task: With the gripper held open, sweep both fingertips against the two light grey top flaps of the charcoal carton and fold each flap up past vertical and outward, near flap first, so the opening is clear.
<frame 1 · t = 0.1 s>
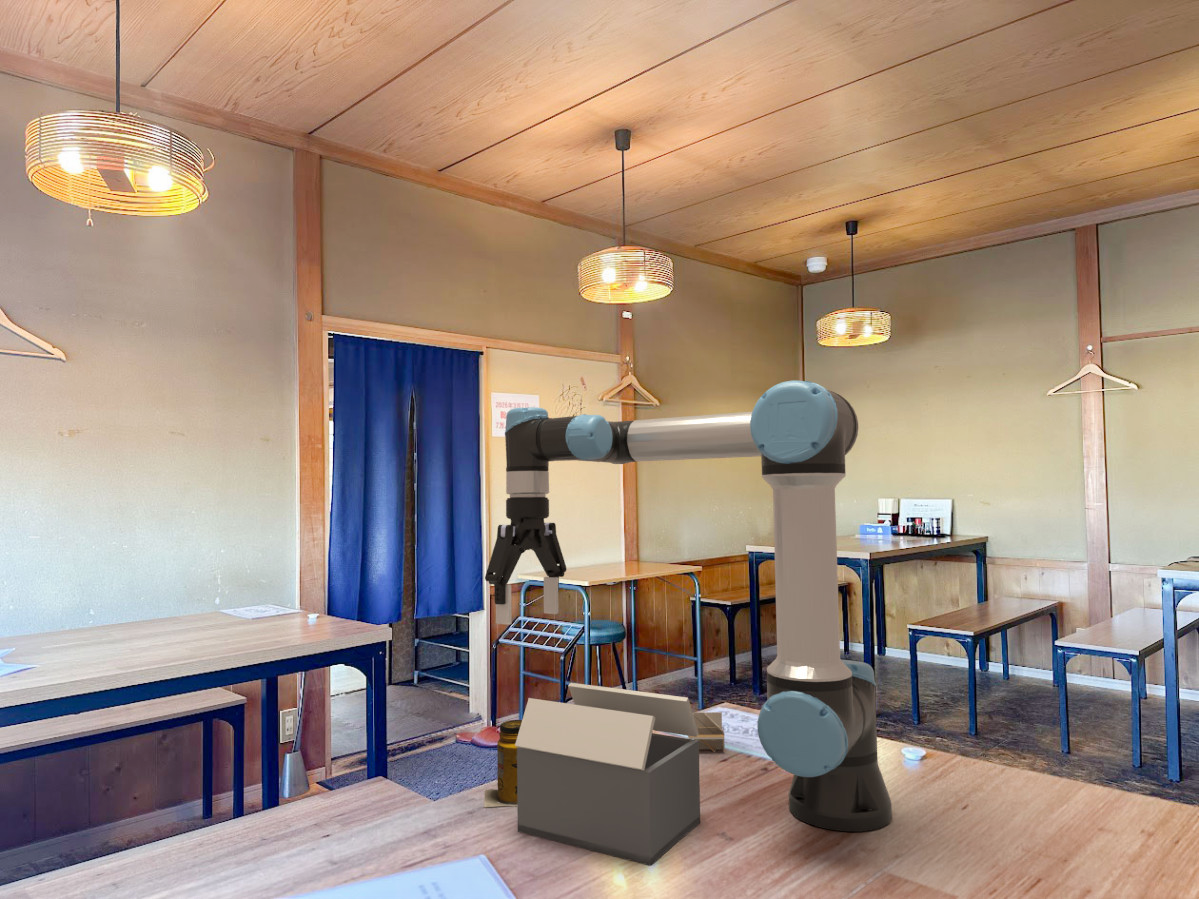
hand: (528, 618, 136), 28 cm above the table, fingers open, 13 cm apart
far flap: (631, 708, 123), point 16 cm above the table, hinge at 60.0°
condiment: (510, 799, 128), on the table
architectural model: (709, 754, 151), on the table
near flap: (582, 732, 111), point 16 cm above the table, hinge at 60.0°
carton: (609, 826, 116), on the table
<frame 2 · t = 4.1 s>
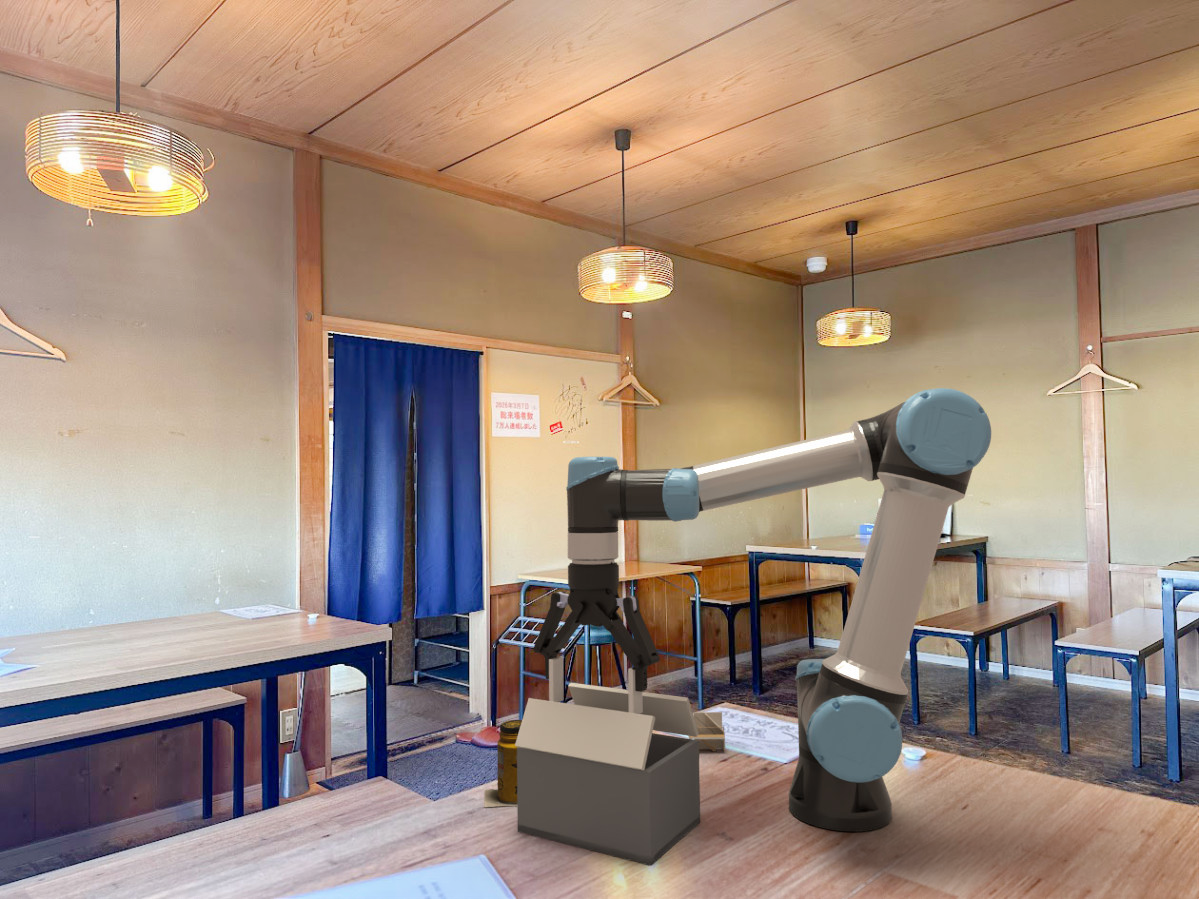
hand: (594, 708, 114), 18 cm above the table
near flap: (582, 732, 111), point 16 cm above the table, hinge at 60.0°, touching gripper
everything else where it was.
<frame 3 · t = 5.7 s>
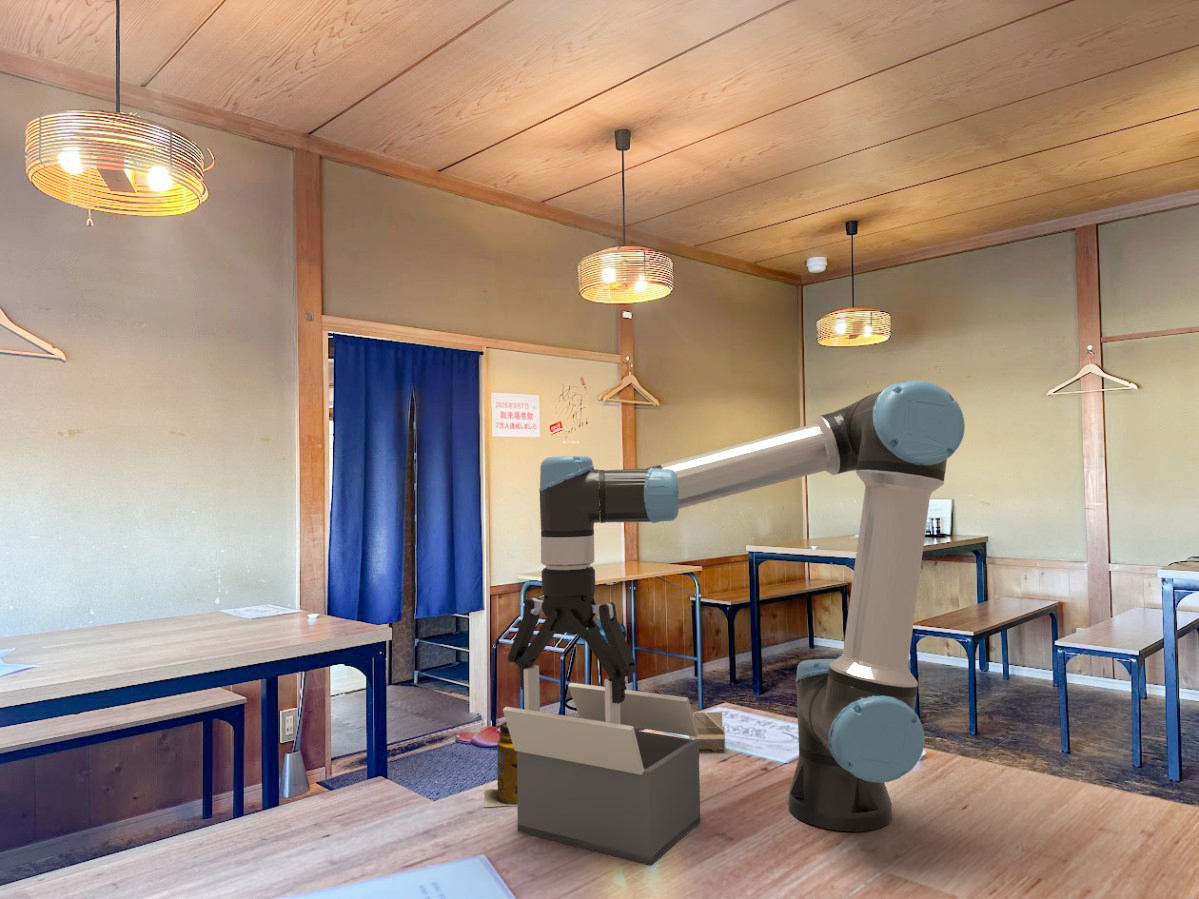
hand: (571, 720, 109), 18 cm above the table
near flap: (570, 739, 108), point 15 cm above the table, hinge at 113.1°, touching gripper
everything else where it was.
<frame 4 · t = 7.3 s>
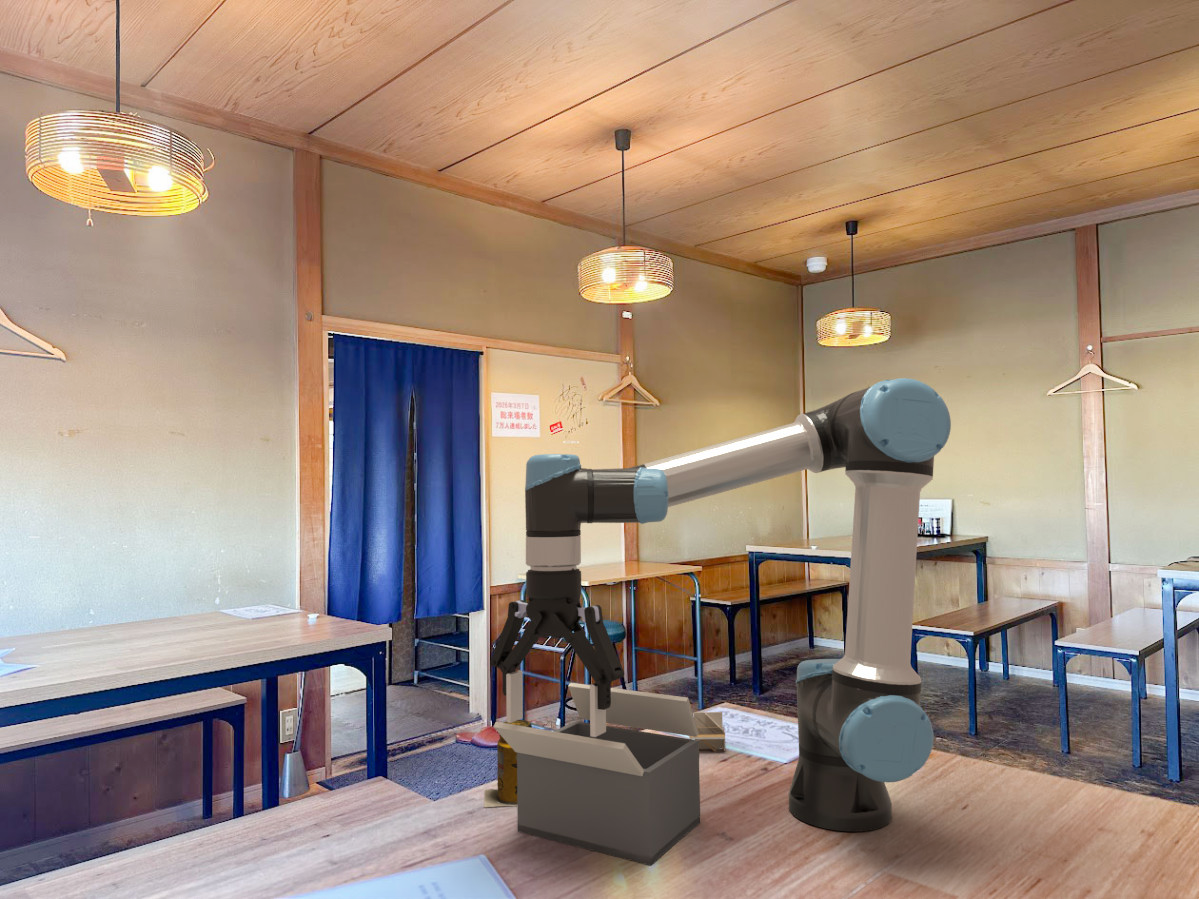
hand: (555, 727, 105), 18 cm above the table, fingers open, 13 cm apart
near flap: (566, 748, 107), point 14 cm above the table, hinge at 136.1°
everything else where it was.
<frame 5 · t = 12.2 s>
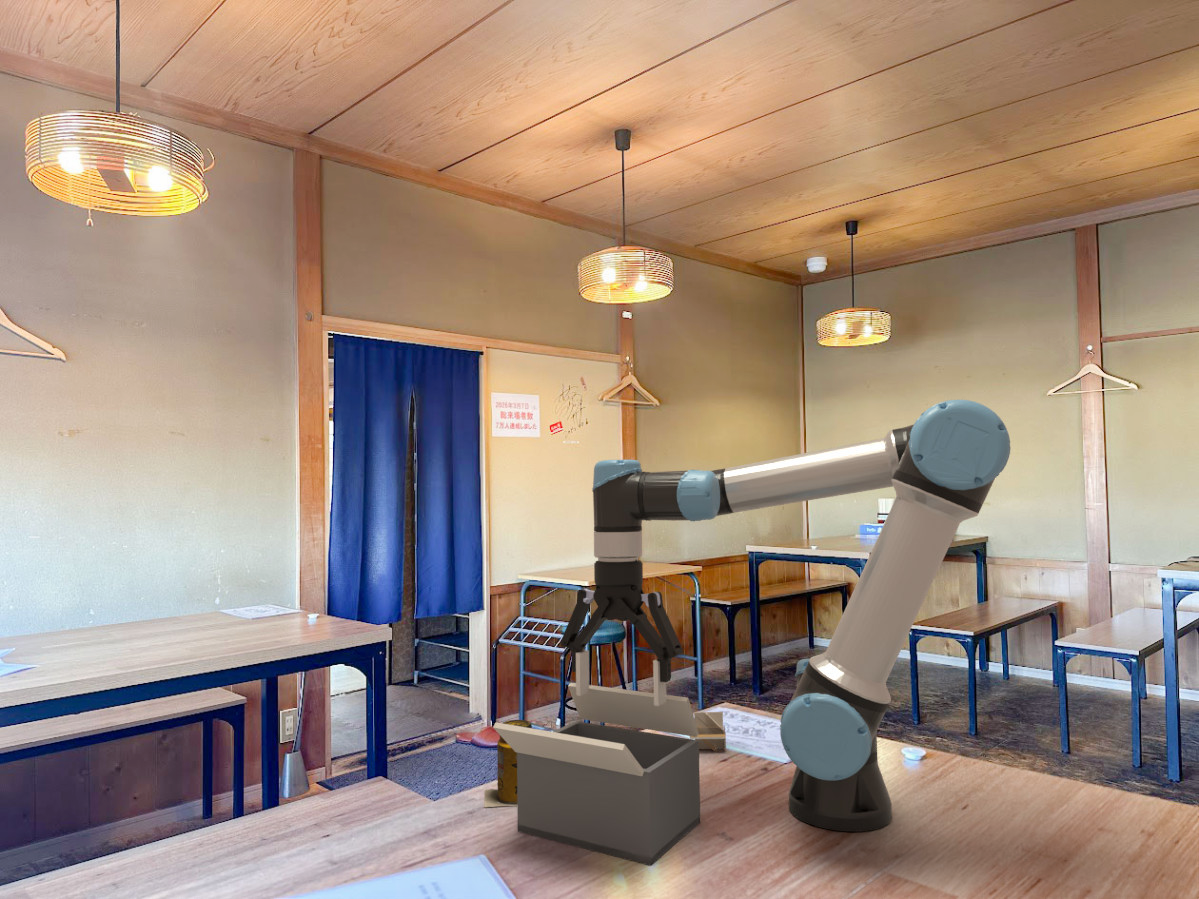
hand: (620, 698, 120), 18 cm above the table, fingers open, 13 cm apart
far flap: (631, 708, 123), point 16 cm above the table, hinge at 60.1°, touching gripper
near flap: (566, 748, 107), point 14 cm above the table, hinge at 136.9°
everything else where it was.
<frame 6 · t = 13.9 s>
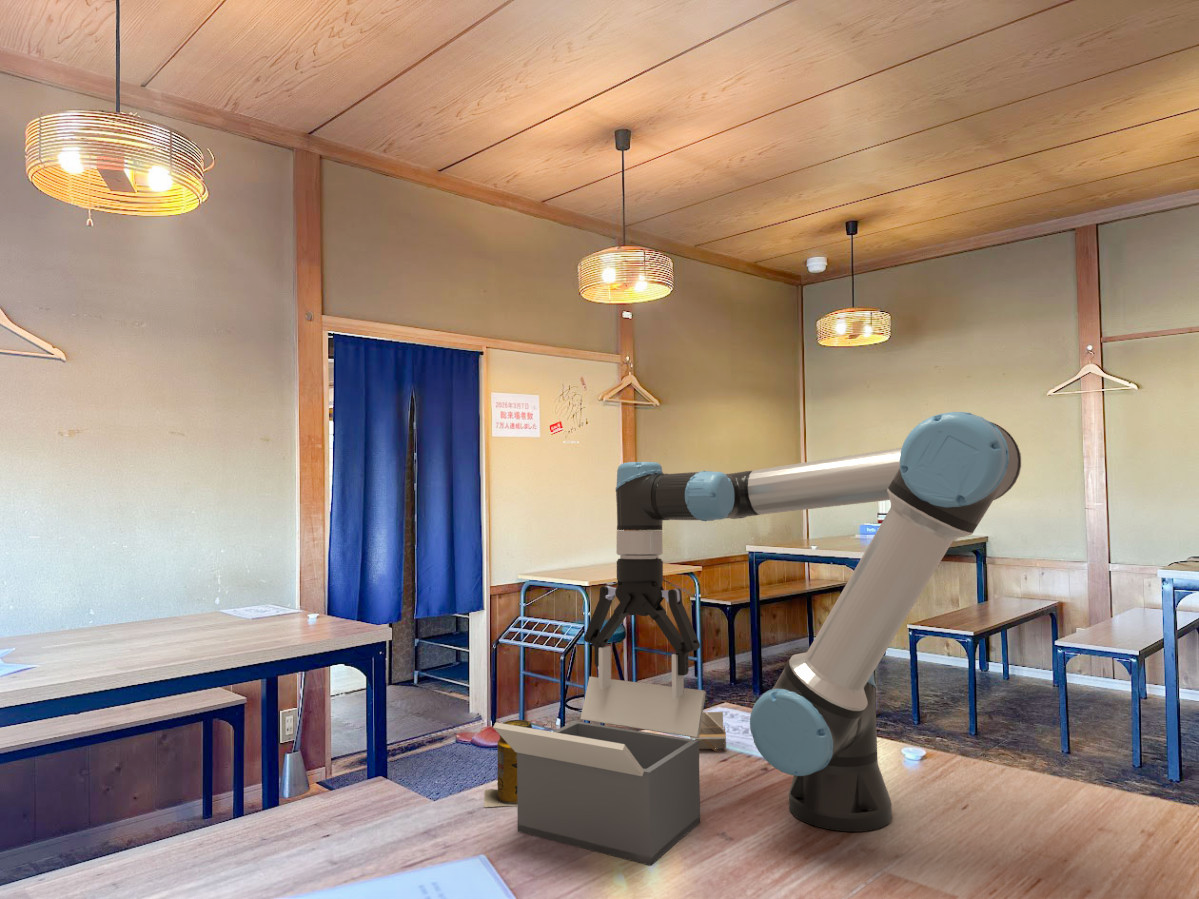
hand: (640, 691, 125), 18 cm above the table
far flap: (641, 705, 126), point 15 cm above the table, hinge at 115.8°, touching gripper
everything else where it was.
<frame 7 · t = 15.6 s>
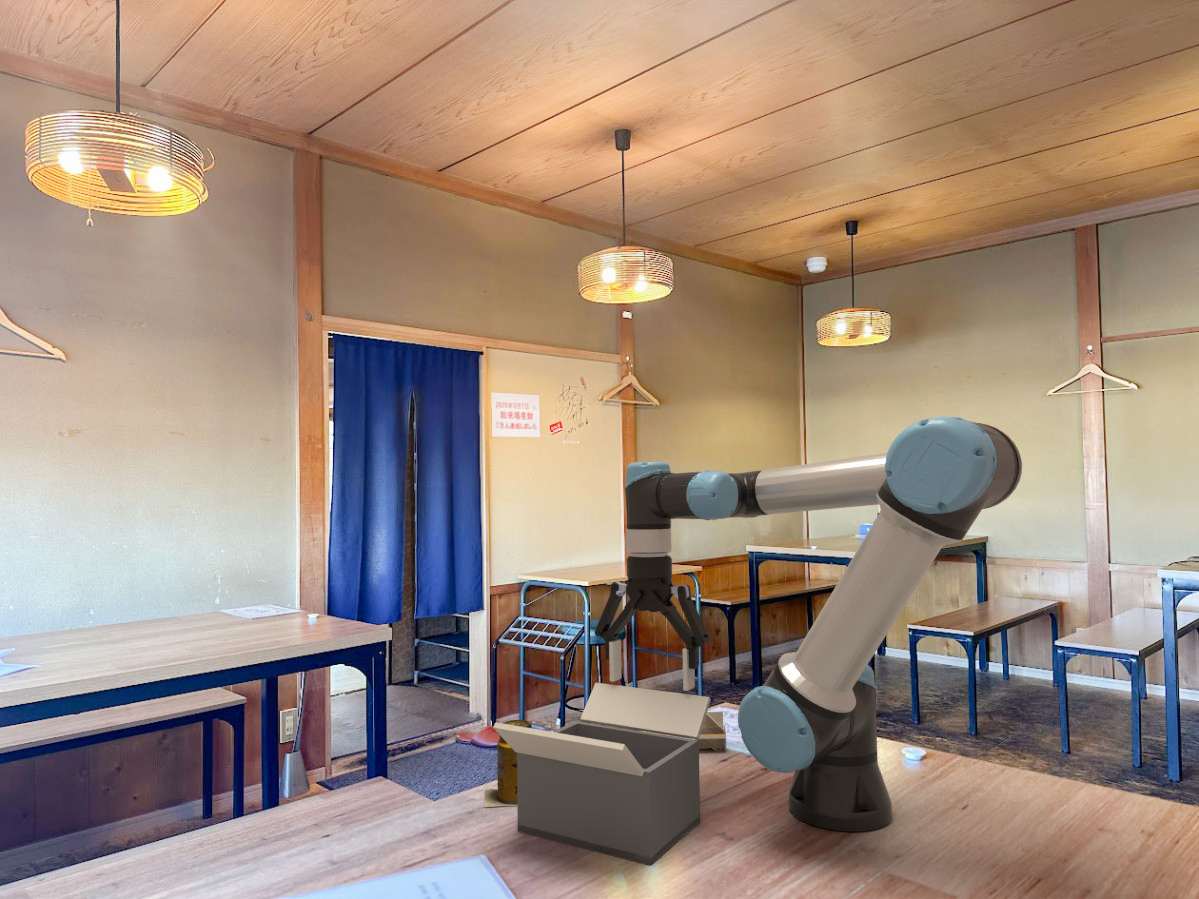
hand: (651, 684, 129), 18 cm above the table, fingers open, 13 cm apart
far flap: (644, 709, 127), point 14 cm above the table, hinge at 135.7°
everything else where it was.
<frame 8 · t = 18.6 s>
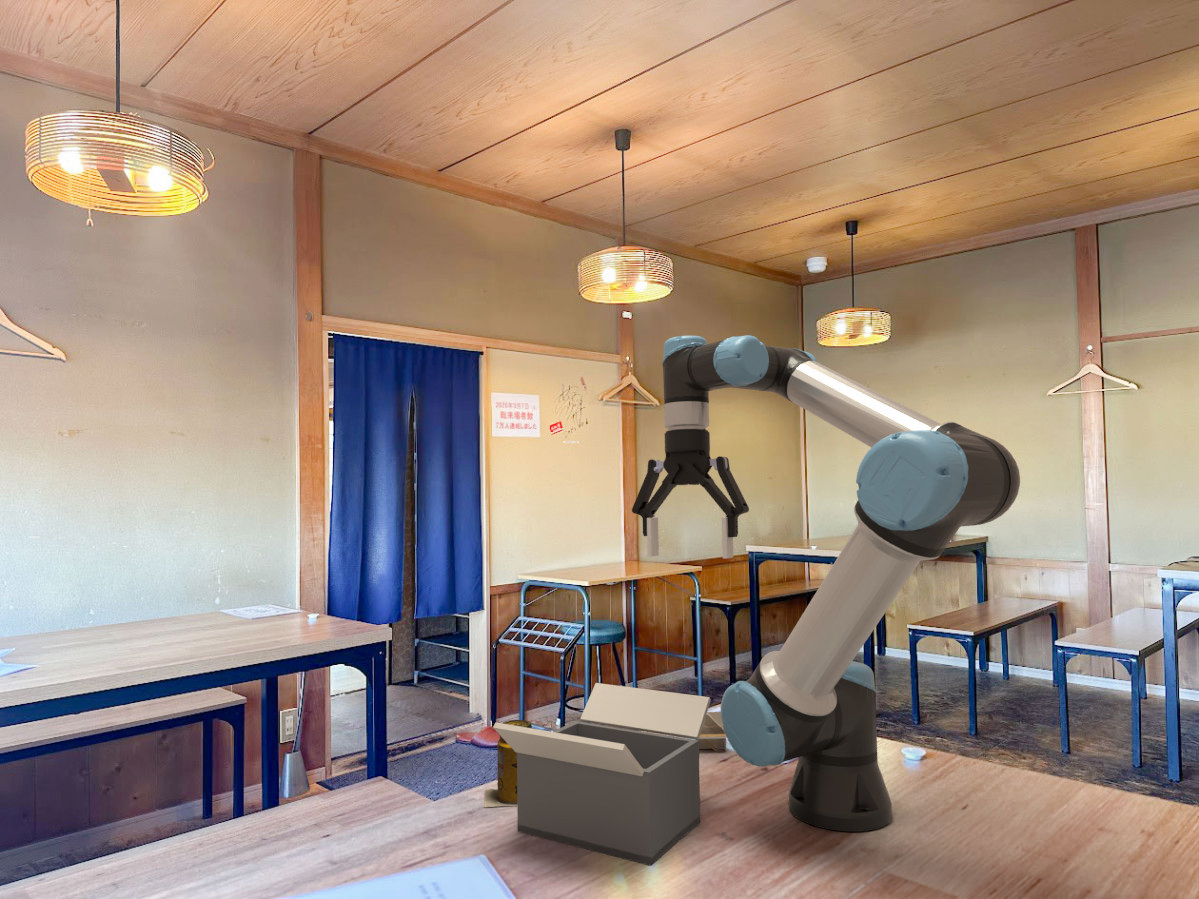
hand: (689, 557, 130), 39 cm above the table, fingers open, 13 cm apart
far flap: (644, 709, 127), point 14 cm above the table, hinge at 136.2°
everything else where it was.
at the end: near flap at +137° (first picture: +60°); far flap at +136° (first picture: +60°) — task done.
